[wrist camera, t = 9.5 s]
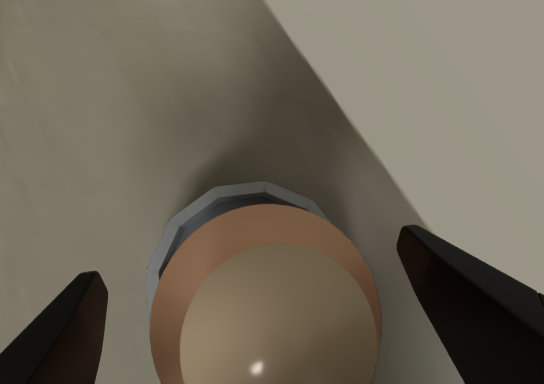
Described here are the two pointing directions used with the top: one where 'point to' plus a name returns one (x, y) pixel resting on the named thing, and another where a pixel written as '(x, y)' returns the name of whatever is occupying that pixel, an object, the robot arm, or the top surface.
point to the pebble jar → (266, 304)
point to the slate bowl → (209, 209)
